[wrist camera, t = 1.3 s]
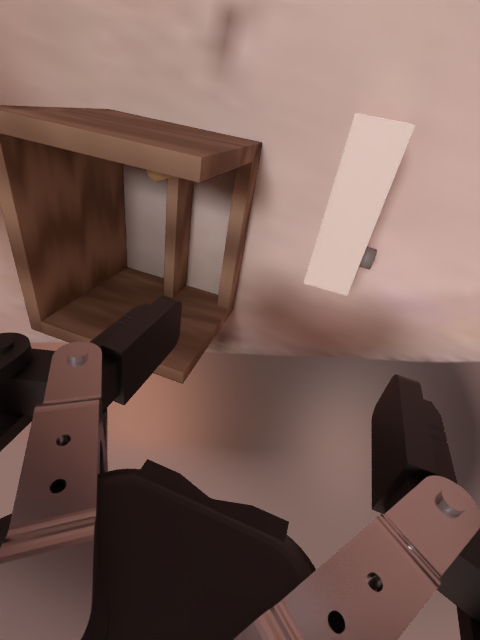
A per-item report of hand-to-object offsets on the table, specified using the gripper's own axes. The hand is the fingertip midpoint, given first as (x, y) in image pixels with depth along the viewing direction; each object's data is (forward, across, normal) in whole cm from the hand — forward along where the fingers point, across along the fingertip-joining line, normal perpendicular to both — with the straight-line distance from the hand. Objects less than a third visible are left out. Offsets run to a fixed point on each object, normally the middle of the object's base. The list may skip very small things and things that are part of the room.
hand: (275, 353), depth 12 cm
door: (+19, -1, -3) cm, 19 cm away
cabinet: (+19, +14, +3) cm, 24 cm away
